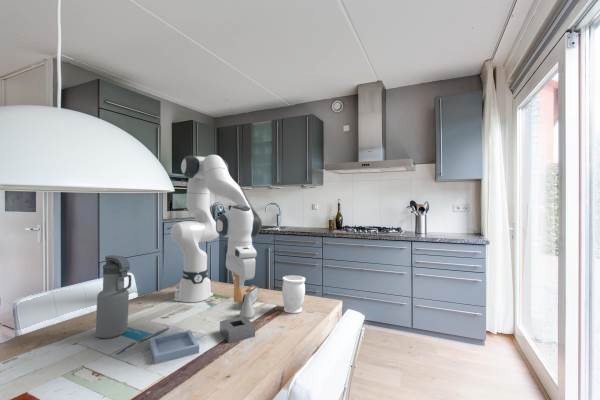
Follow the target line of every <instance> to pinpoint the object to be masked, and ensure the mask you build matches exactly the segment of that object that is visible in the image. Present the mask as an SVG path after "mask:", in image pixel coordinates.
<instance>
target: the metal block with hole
mask: <svg viewBox="0 0 600 400" xmlns="http://www.w3.org/2000/svg"><path fill="white" fill-rule="evenodd" d="M219 333H220V334H221V335H222V336H223V338H224V339H225V341H227V343H228V344H229V343H230V342H231V343H235V342H239V341H242V340H246V339H249V338H254V337H256V325H255V324H254V323H253V322H252V321H251V320H250V319H247V318H246V317H245V316H243V317H239V316H238V317H235V318H234V317H233V318H229V319H225V320H220V321H219ZM234 341H235V342H234Z"/></svg>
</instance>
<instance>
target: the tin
mask: <svg viewBox="0 0 600 400" xmlns="http://www.w3.org/2000/svg"><path fill="white" fill-rule="evenodd" d="M245 292H251V302H252V305H254V304H256V302H257V300H258V297H259V286H258V285H254V284H252V285H251V286H249V287H248V288H247V289H245ZM245 292H244V293H245ZM244 299H245V295H244V294H243V295H242V301H241V302H242V304H241V305H243V303H244Z"/></svg>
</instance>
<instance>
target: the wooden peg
mask: <svg viewBox="0 0 600 400" xmlns="http://www.w3.org/2000/svg"><path fill="white" fill-rule="evenodd" d="M233 275H235V279H234V283H233V285H234V286H233V302H235V303H240V302H242V301H243V288H239V287H238V282H239V280H240V279H239V276H238V275H236V274H235V272H234V271H233Z"/></svg>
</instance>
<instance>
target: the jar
mask: <svg viewBox="0 0 600 400" xmlns="http://www.w3.org/2000/svg"><path fill="white" fill-rule="evenodd" d="M282 281H283V283H282V286H281V287H282V288H281V295H282V301H283V303H282V304H283V305H284V308H283V311H284V312H285V313H288V314H299V313H302V312H303V304H304V300H305V295H306V285H305V282H306V277H305V276H302V275H296V274H295V275H285V276H283V277H282Z"/></svg>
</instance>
